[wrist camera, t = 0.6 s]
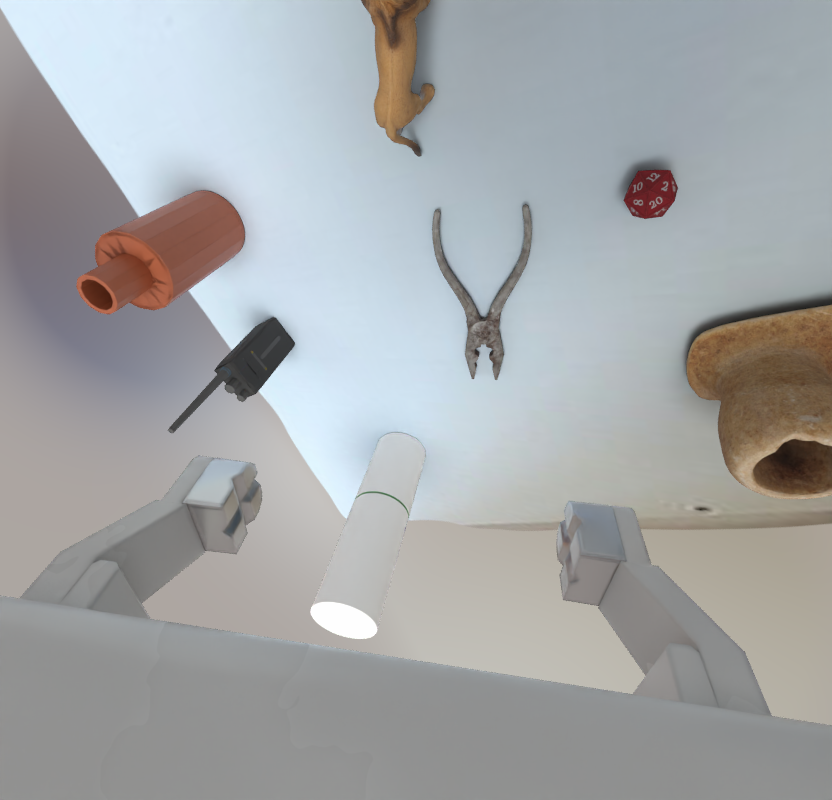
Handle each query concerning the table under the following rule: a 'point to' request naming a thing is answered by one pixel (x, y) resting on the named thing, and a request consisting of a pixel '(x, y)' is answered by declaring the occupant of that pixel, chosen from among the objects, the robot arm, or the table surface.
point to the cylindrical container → (370, 540)
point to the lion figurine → (397, 65)
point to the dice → (651, 193)
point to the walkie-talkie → (247, 365)
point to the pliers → (489, 327)
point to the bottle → (162, 253)
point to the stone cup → (771, 399)
